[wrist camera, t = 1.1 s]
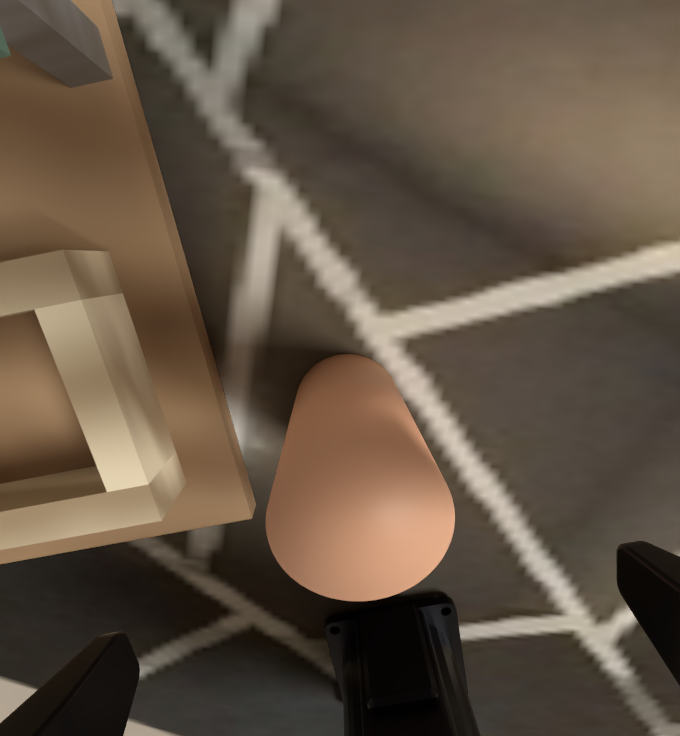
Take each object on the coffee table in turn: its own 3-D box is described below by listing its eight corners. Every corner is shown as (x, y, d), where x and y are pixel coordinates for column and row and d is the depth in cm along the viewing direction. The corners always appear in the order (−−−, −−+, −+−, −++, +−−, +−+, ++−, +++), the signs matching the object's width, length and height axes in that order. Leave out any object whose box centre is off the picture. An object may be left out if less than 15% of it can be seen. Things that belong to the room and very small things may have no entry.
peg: (405, 440, 17) (464, 584, 10) (307, 458, 18) (289, 615, 10) (390, 344, 16) (443, 421, 9) (285, 364, 16) (244, 458, 9)
